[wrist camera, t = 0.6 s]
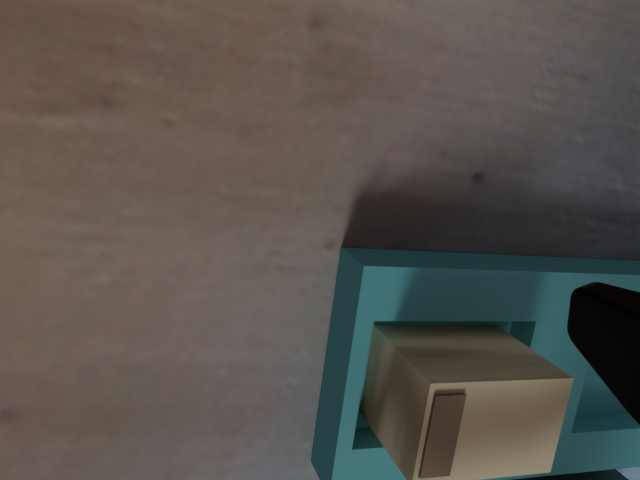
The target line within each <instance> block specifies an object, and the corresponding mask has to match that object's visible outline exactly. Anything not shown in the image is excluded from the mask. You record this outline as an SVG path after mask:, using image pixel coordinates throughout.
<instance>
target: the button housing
mask: <svg viewBox="0 0 640 480" xmlns="http://www.w3.org/2000/svg"><path fill="white" fill-rule="evenodd" d="M512 480H628V479H627V478H626V477H624V476H623V475H622V474H621V473H619V472H618V471H617V470H616V469H609V470H600V471H590V472H580V473H570V474H561V475H551V476H541V477H531V478H522V479H512Z"/></svg>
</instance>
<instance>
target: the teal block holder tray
mask: <svg viewBox="0 0 640 480" xmlns="http://www.w3.org/2000/svg"><path fill="white" fill-rule="evenodd" d="M592 282H602V283H605V284H609V285H613V286H617V287H621V288H625V289H629V290H633V291H637V292H640V261H639V260H617V259H594V258H571V257H548V256H526V255H503V254H480V253H457V252H435V251H412V250H389V249H366V248H344V247H341V253H340V260H339V267H338V274H337V281H336V288H335V295H334V302H333V310H332V317H331V324H330V331H329V338H328V345H327V352H326V359H325V366H324V373H323V380H322V388H321V395H320V402H319V409H318V416H317V423H316V430H315V437H314V444H313V451H312V458H311V462H312V464H313V467H314V469H315V471H316V473H317V475H318V477H319V479H320V480H406V478H405V477H404V475H403V474H402V472H401V471H400V470H399V468H398V467H397V465H396V464H395V462H394V461H393V459H392V458H391V456H390V455H389V454H388V452H387V451H386V449H385V448H384V446H383V445H382V443H381V442H380V441H379V439H378V438H377V436H376V435H375V433H374V432H373V430H372V429H371V428H370V426H369V425H368V423H367V422H366V420H365V419H364V417H363V416H362V414H361V413H360V406H361V400H362V393H363V387H364V381H365V374H366V368H367V362H368V356H369V349H370V343H371V337H372V331H373V325H497V326H499V327H500V328H501V329H503V330H504V331H506V332H507V333H509V334H510V335H512V336H513V337H515V338H516V339H517V340H519V341H520V342H522V343H523V344H525V345H526V346H528V347H529V348H531V349H532V350H534V351H535V352H536V353H538V354H539V355H541V356H542V357H544V358H545V359H547V360H548V361H550V362H551V363H552V364H554V365H555V366H557V367H558V368H560V369H561V370H563V371H564V372H566V373H567V374H569V375H570V376H571V377H573V378H574V380H573V384H572V388H571V392H570V396H569V400H568V404H567V408H566V412H565V416H564V420H563V424H562V428H561V432H560V436H559V440H558V444H557V448H556V452H555V456H554V460H553V464H552V468H551V472H550V473H540V474H530V475H520V476H510V477H500V478H490V479H480V480H512V479H522V478H531V477H541V476H551V475H561V474H570V473H580V472H590V471H600V470H609V469H619V468H629V467H639V466H640V425H639V424H638V423H637V422H636V421H635V420H634V419H633V418H632V417H631V415H630V414H629V413H628V412H627V411H626V410H625V408H624V407H623V406H622V405H621V404H620V402H619V401H618V400H617V399H616V397H615V396H614V395H613V393H612V392H611V391H610V390H609V388H608V387H607V386H606V385H605V383H604V382H603V381H602V380H601V378H600V377H599V376H598V374H597V373H596V372H595V371H594V369H593V368H592V367H591V366H590V364H589V363H588V362H587V360H586V359H585V358H584V357H583V355H582V354H581V353H580V352H579V350H578V349H577V348H576V347H575V345H574V344H573V343H572V341H571V339H570V337H569V335H568V331H567V322H568V314H569V306H570V297H571V294H572V292H573V291H574V289H576V288H578V287H581V286H583V285H586V284H589V283H592Z"/></svg>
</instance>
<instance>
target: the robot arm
mask: <svg viewBox="0 0 640 480" xmlns="http://www.w3.org/2000/svg"><path fill="white" fill-rule="evenodd" d="M567 331H568V335H569V337H570V339H571V341H572V343H573V344H574V345H575V347H576V348H577V349H578V350H579V352H580V353H581V354H582V355H583V357H584V358H585V359H586V360H587V362H588V363H589V364H590V366H591V367H592V368H593V369H594V371H595V372H596V373H597V374H598V376H599V377H600V378H601V380H602V381H603V382H604V383H605V385H606V386H607V387H608V388H609V390H610V391H611V392H612V393H613V395H614V396H615V397H616V399H617V400H618V401H619V402H620V404H621V405H622V406H623V407H624V408H625V410H626V411H627V412H628V413H629V414H630V415H631V417H632V418H633V419H634V420H635V421H636V422H637V423H638V424H639V425H640V292H637V291H633V290H629V289H625V288H621V287H617V286H613V285H609V284H605V283H602V282H592V283H589V284H586V285H583V286H581V287H578V288H576V289H574V291H573V292H572V294H571V297H570V306H569V314H568V322H567Z"/></svg>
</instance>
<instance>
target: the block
mask: <svg viewBox="0 0 640 480" xmlns="http://www.w3.org/2000/svg"><path fill="white" fill-rule="evenodd" d="M573 380H574V378H573V377H571V376H570V375H569V374H567V373H566V372H564V371H563V370H561V369H560V368H558V367H557V366H555V365H554V364H552V363H551V362H550V361H548V360H547V359H545V358H544V357H542V356H541V355H539V354H538V353H536V352H535V351H534V350H532V349H531V348H529V347H528V346H526V345H525V344H523V343H522V342H520V341H519V340H517V339H516V338H515V337H513V336H512V335H510V334H509V333H507V332H506V331H504V330H503V329H501V328H500V327H499V326H497V325H373V331H372V337H371V343H370V349H369V356H368V362H367V368H366V374H365V381H364V387H363V393H362V400H361V406H360V413H361V414H362V416H363V417H364V419H365V420H366V422H367V423H368V425H369V426H370V428H371V429H372V430H373V432H374V433H375V435H376V436H377V438H378V439H379V441H380V442H381V443H382V445H383V446H384V448H385V449H386V451H387V452H388V454H389V455H390V456H391V458H392V459H393V461H394V462H395V464H396V465H397V467H398V468H399V470H400V471H401V472H402V474H403V475H404V477H405V478H406V480H480V479H490V478H500V477H510V476H520V475H530V474H540V473H550V472H551V468H552V464H553V460H554V456H555V452H556V448H557V444H558V440H559V436H560V432H561V428H562V424H563V420H564V416H565V412H566V408H567V404H568V400H569V396H570V392H571V388H572V384H573Z"/></svg>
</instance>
